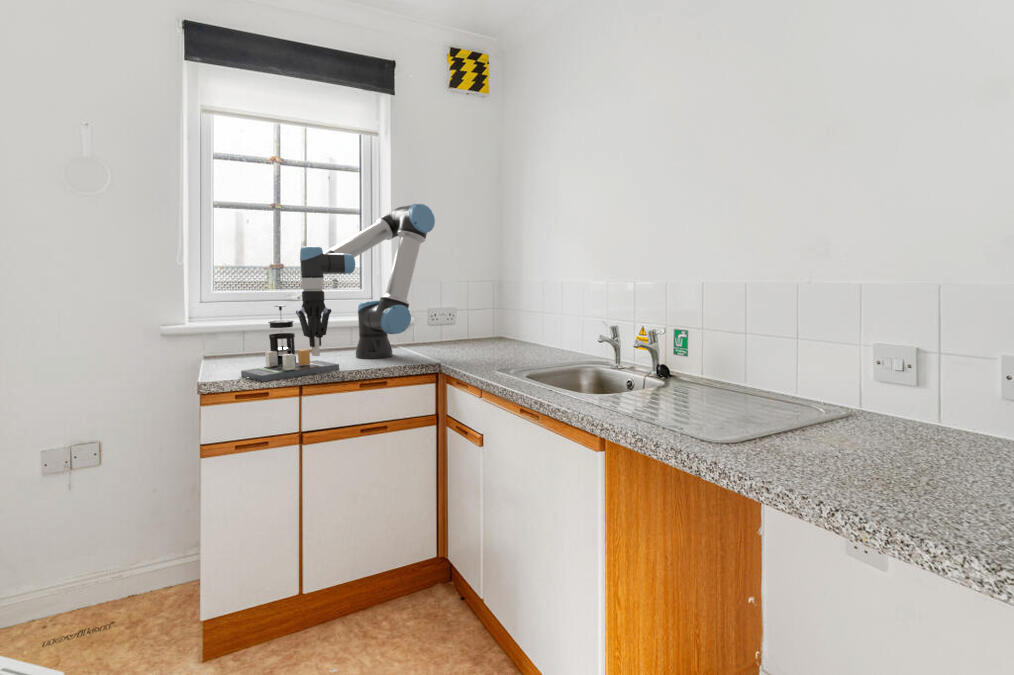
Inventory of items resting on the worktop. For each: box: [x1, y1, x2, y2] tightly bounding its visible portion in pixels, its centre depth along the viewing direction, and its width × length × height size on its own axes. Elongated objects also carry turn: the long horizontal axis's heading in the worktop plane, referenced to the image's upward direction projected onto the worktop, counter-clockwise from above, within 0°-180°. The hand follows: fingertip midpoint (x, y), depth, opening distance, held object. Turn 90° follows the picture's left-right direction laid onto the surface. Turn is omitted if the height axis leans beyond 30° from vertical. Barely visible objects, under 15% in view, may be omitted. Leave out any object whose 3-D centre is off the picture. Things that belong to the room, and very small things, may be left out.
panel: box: [240, 350, 340, 383], centre depth 184 cm, size 28×15×8 cm, turn 140°
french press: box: [267, 304, 297, 365], centre depth 199 cm, size 12×9×23 cm
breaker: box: [297, 349, 311, 365], centre depth 187 cm, size 3×2×5 cm
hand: (315, 355), depth 191 cm, fingers closed
